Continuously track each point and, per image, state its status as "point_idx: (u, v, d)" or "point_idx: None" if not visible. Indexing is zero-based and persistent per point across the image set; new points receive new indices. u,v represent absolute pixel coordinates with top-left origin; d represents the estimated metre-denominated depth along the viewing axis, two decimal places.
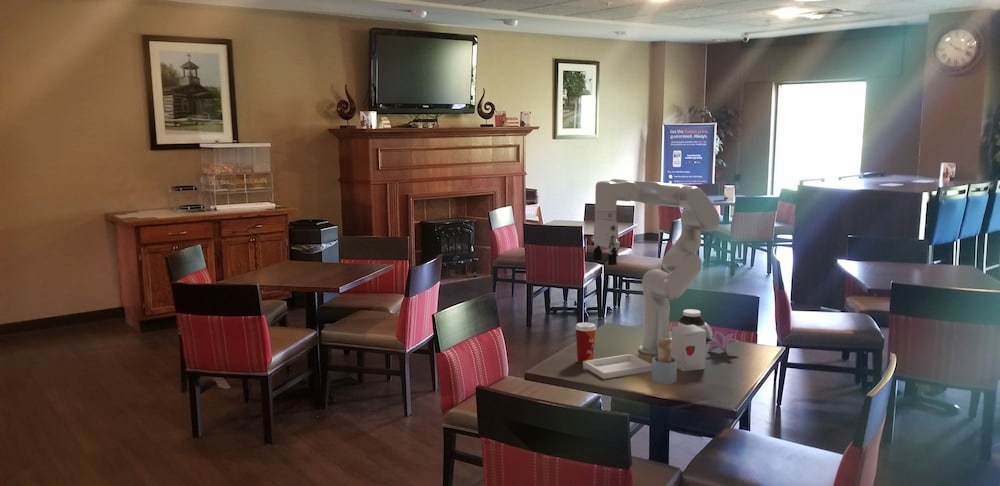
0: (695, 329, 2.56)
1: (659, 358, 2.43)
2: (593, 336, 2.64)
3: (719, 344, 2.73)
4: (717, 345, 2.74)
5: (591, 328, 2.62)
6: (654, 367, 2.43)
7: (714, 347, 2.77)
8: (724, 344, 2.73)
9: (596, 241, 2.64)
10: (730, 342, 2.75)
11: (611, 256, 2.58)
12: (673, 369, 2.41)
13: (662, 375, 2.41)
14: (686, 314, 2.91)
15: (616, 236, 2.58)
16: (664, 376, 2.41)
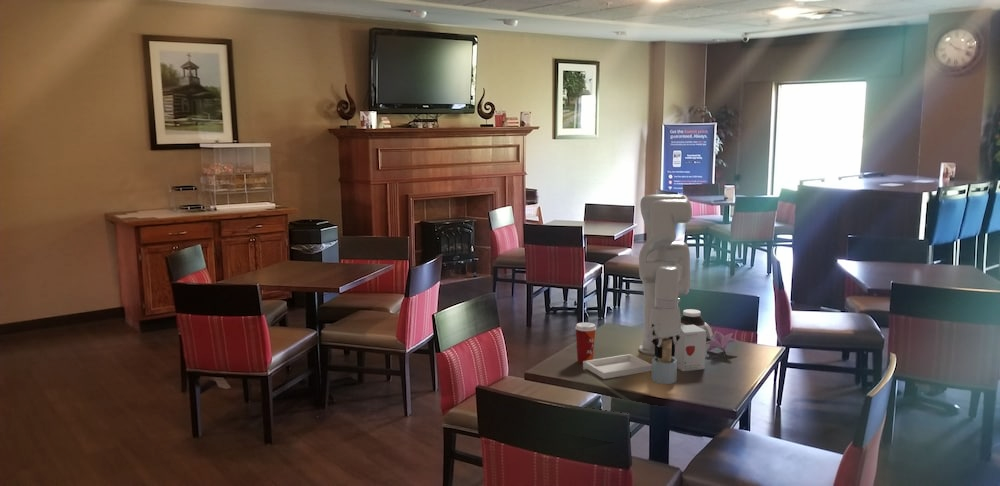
0: (695, 329, 2.56)
1: (659, 358, 2.43)
2: (593, 336, 2.64)
3: (718, 344, 2.73)
4: (716, 345, 2.74)
5: (591, 328, 2.62)
6: (654, 367, 2.43)
7: (713, 347, 2.77)
8: (723, 344, 2.73)
9: (663, 333, 2.40)
10: (729, 342, 2.76)
11: None
12: (673, 369, 2.41)
13: (662, 375, 2.41)
14: (686, 314, 2.91)
15: None
16: (664, 376, 2.41)
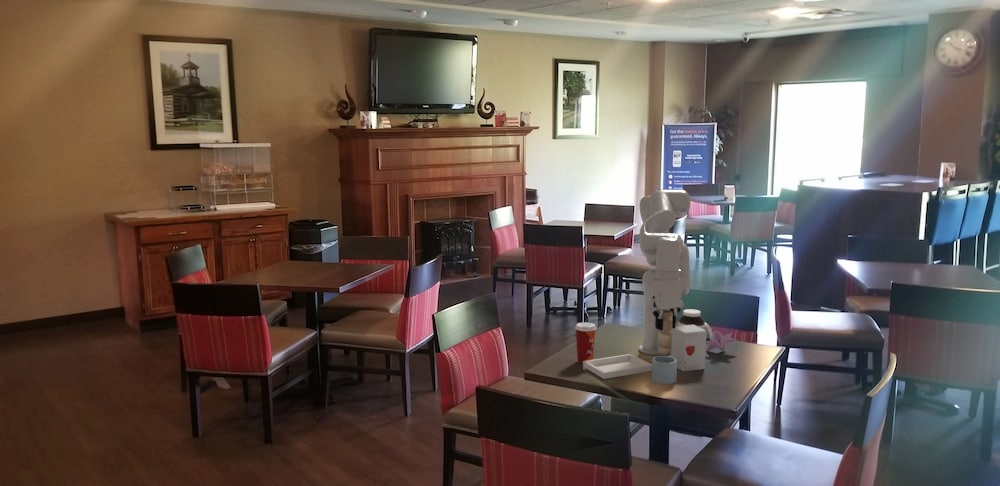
0: (695, 329, 2.56)
1: (660, 330, 2.42)
2: (593, 336, 2.64)
3: (717, 344, 2.74)
4: (715, 345, 2.74)
5: (591, 328, 2.62)
6: (654, 367, 2.43)
7: (712, 347, 2.77)
8: (722, 344, 2.73)
9: (664, 305, 2.38)
10: (728, 342, 2.76)
11: None
12: (673, 369, 2.41)
13: (662, 375, 2.41)
14: (686, 314, 2.91)
15: None
16: (664, 376, 2.41)
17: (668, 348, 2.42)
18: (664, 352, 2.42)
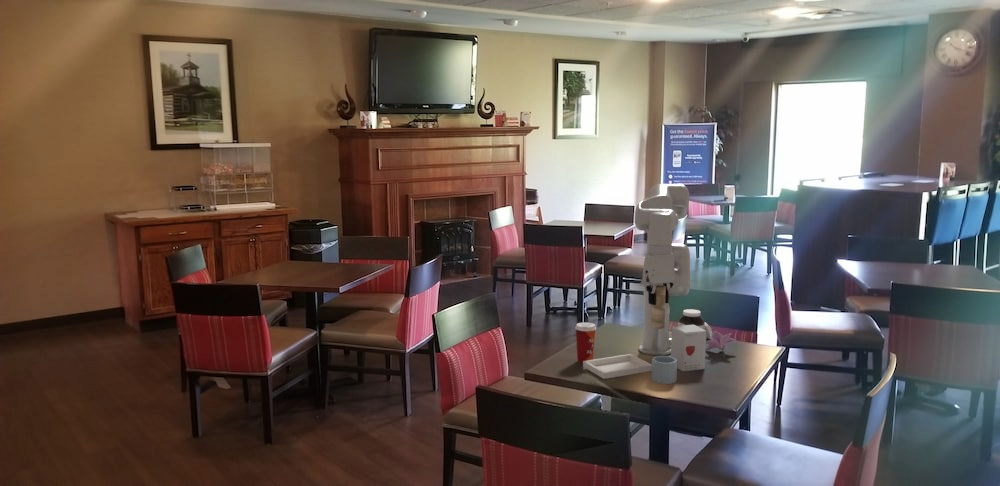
0: (695, 329, 2.56)
1: (653, 305, 2.42)
2: (593, 336, 2.64)
3: (717, 343, 2.74)
4: (715, 344, 2.75)
5: (591, 328, 2.62)
6: (654, 367, 2.43)
7: (712, 347, 2.77)
8: (722, 343, 2.73)
9: (657, 279, 2.39)
10: (728, 341, 2.76)
11: None
12: (673, 369, 2.41)
13: (662, 375, 2.41)
14: (686, 314, 2.91)
15: None
16: (664, 376, 2.41)
17: (661, 323, 2.42)
18: (657, 327, 2.42)
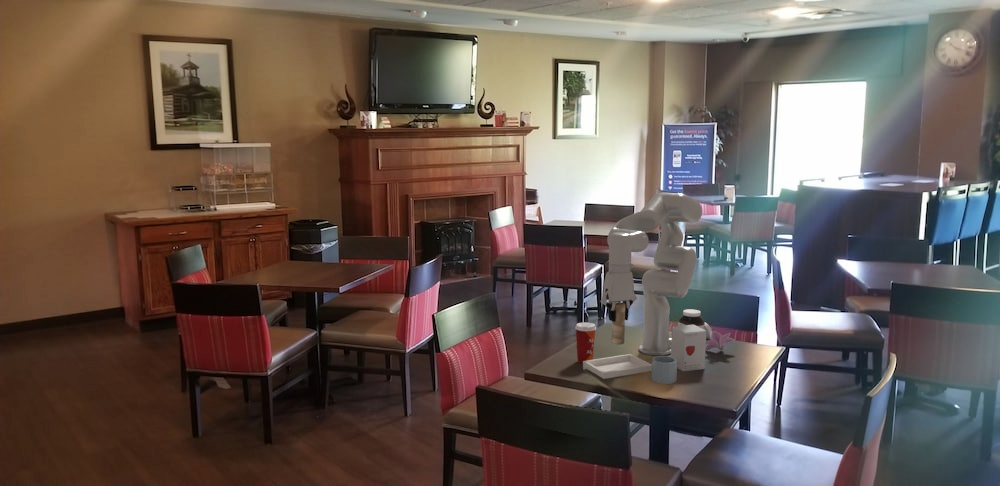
0: (695, 329, 2.56)
1: (613, 322, 2.53)
2: (593, 336, 2.64)
3: (716, 343, 2.74)
4: (714, 344, 2.75)
5: (591, 328, 2.62)
6: (654, 367, 2.43)
7: (711, 346, 2.78)
8: (721, 343, 2.74)
9: (616, 297, 2.49)
10: (727, 341, 2.76)
11: None
12: (673, 369, 2.41)
13: (662, 375, 2.41)
14: (686, 314, 2.91)
15: None
16: (664, 376, 2.41)
17: (621, 339, 2.53)
18: (617, 343, 2.53)
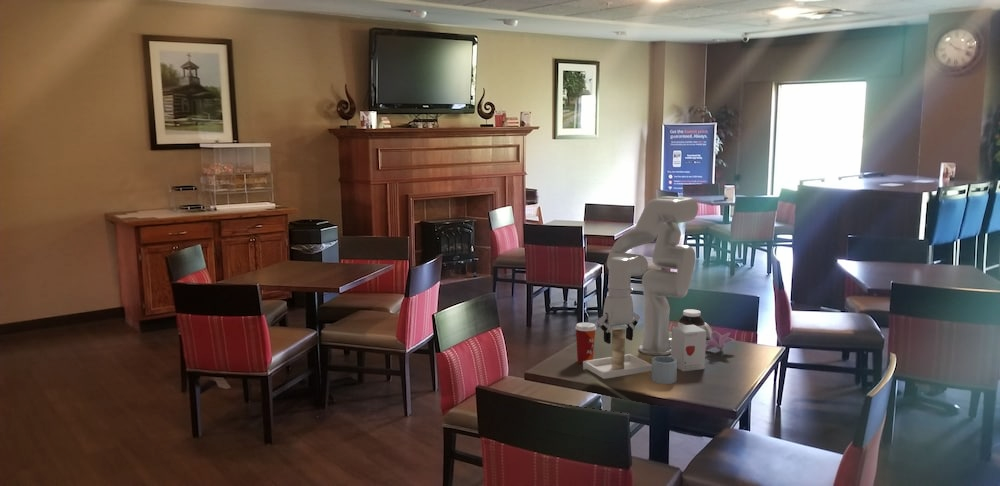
0: (695, 329, 2.56)
1: (613, 348, 2.55)
2: (593, 336, 2.64)
3: (716, 343, 2.74)
4: (714, 344, 2.75)
5: (591, 328, 2.62)
6: (654, 367, 2.43)
7: (710, 346, 2.78)
8: (721, 343, 2.74)
9: (616, 321, 2.51)
10: (726, 341, 2.77)
11: None
12: (673, 369, 2.41)
13: (662, 375, 2.41)
14: (686, 314, 2.91)
15: None
16: (664, 376, 2.41)
17: (621, 365, 2.54)
18: (617, 369, 2.55)
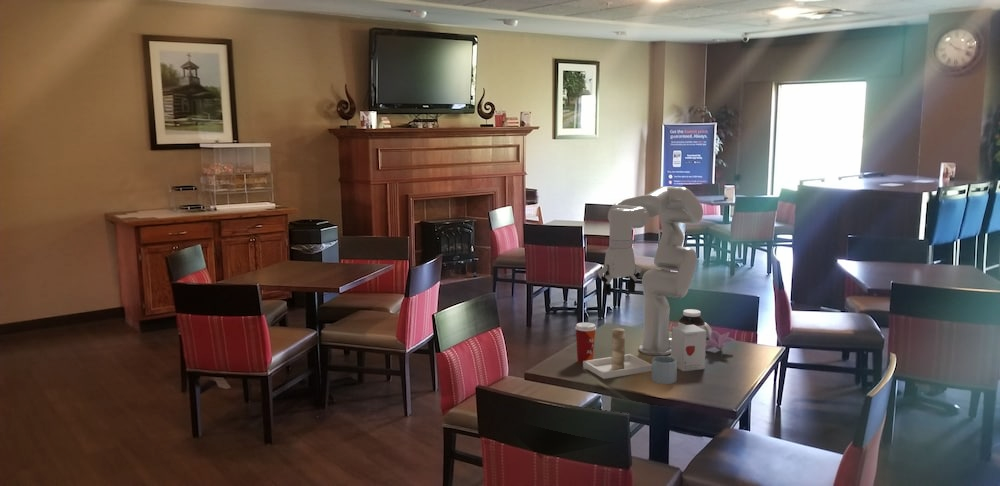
0: (695, 329, 2.56)
1: (613, 348, 2.55)
2: (593, 336, 2.64)
3: (715, 343, 2.74)
4: (713, 344, 2.75)
5: (591, 328, 2.62)
6: (654, 367, 2.43)
7: (710, 346, 2.78)
8: (720, 343, 2.74)
9: (617, 273, 2.48)
10: (726, 341, 2.77)
11: None
12: (673, 369, 2.41)
13: (662, 375, 2.41)
14: (686, 314, 2.91)
15: None
16: (664, 376, 2.41)
17: (621, 365, 2.54)
18: (617, 369, 2.55)
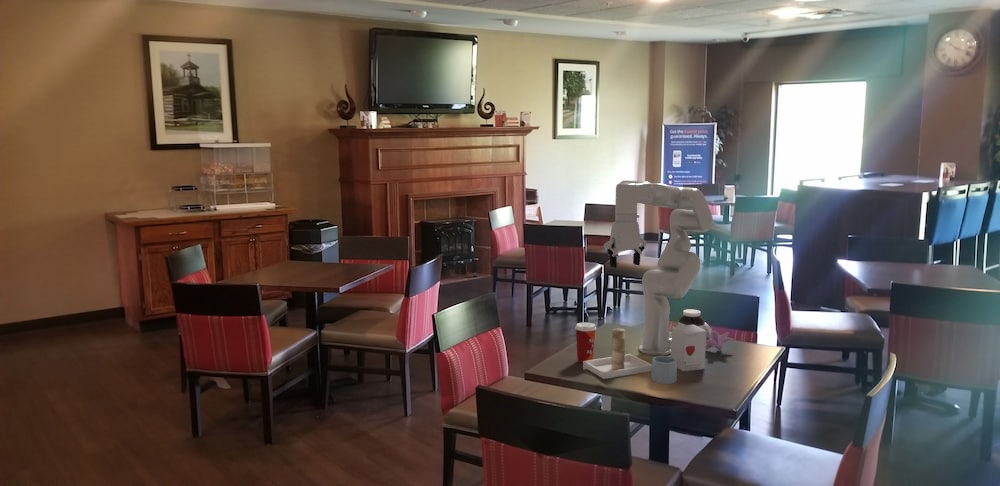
0: (695, 329, 2.56)
1: (613, 348, 2.55)
2: (593, 336, 2.64)
3: (715, 343, 2.75)
4: (713, 344, 2.75)
5: (591, 328, 2.62)
6: (654, 367, 2.43)
7: (709, 346, 2.78)
8: (720, 343, 2.74)
9: (623, 246, 2.55)
10: (725, 341, 2.77)
11: None
12: (673, 369, 2.41)
13: (662, 375, 2.41)
14: (686, 314, 2.91)
15: None
16: (664, 376, 2.41)
17: (621, 365, 2.54)
18: (617, 369, 2.55)
